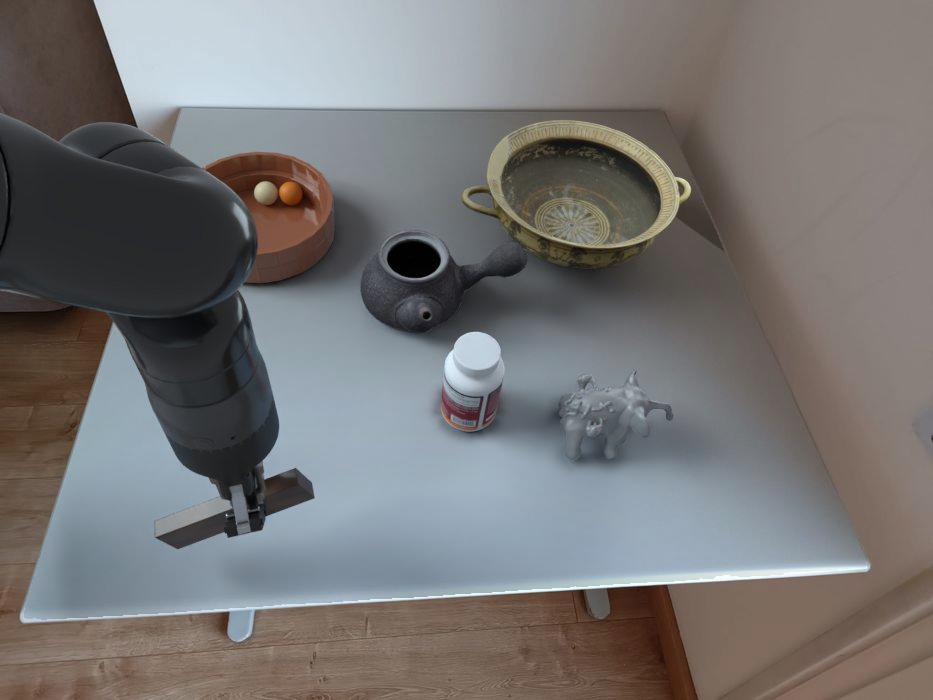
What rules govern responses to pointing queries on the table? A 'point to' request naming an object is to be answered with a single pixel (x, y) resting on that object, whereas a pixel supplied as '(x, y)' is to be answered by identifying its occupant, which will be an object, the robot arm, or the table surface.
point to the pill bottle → (472, 382)
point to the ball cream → (266, 193)
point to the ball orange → (290, 193)
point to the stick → (230, 510)
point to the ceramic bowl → (579, 193)
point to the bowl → (281, 212)
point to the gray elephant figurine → (606, 414)
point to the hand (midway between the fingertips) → (253, 505)
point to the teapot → (426, 279)
